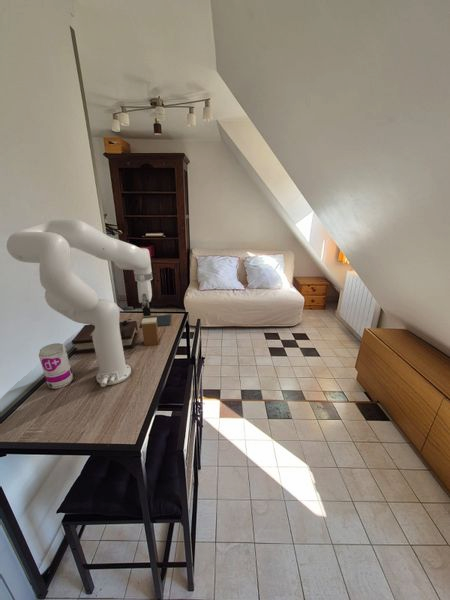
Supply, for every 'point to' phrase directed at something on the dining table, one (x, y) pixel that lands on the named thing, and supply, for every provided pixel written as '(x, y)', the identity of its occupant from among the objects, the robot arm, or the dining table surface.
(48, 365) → the supplement can
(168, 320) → the slate mat
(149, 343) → the cardboard box
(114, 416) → the dining table surface
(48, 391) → the dining table surface
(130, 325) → the decorative book
